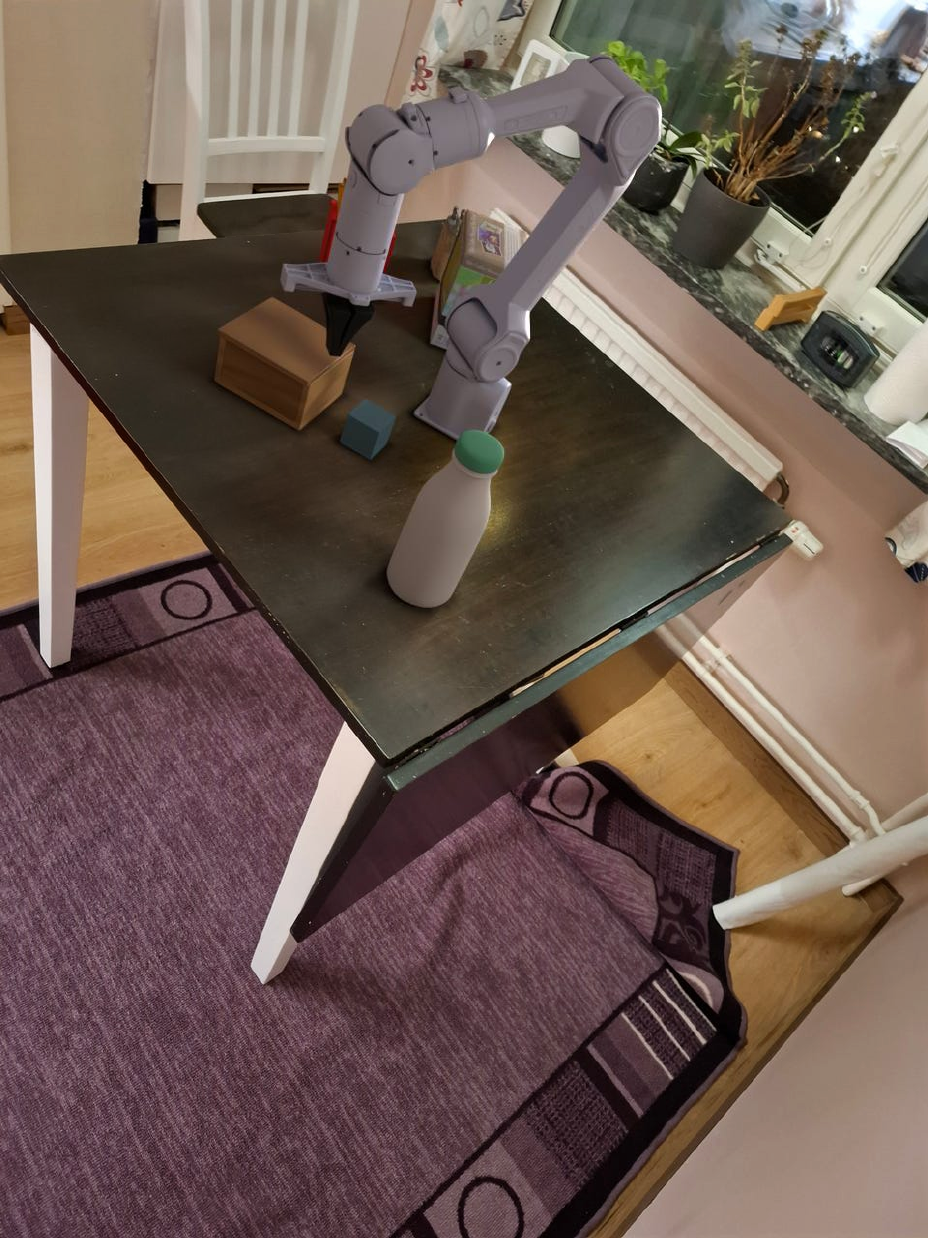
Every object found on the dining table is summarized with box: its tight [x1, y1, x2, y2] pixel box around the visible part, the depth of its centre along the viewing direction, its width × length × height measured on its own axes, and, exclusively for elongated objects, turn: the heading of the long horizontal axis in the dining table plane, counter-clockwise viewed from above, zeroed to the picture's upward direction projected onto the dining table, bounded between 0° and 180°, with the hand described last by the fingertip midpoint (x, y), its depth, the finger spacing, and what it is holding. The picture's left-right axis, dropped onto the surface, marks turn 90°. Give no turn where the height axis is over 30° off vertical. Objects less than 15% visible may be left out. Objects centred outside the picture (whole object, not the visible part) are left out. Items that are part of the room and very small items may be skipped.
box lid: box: [216, 296, 356, 387], centre depth 98 cm, size 11×12×1 cm
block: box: [339, 398, 397, 461], centre depth 101 cm, size 4×4×4 cm
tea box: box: [430, 208, 528, 351], centre depth 122 cm, size 15×10×15 cm
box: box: [214, 336, 355, 431], centre depth 101 cm, size 11×12×7 cm
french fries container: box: [317, 176, 397, 275], centre depth 119 cm, size 7×9×14 cm
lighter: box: [430, 205, 467, 282], centre depth 133 cm, size 7×4×10 cm, turn 8°
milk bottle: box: [386, 430, 505, 609], centre depth 83 cm, size 8×8×20 cm
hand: (333, 350), depth 94 cm, fingers closed
